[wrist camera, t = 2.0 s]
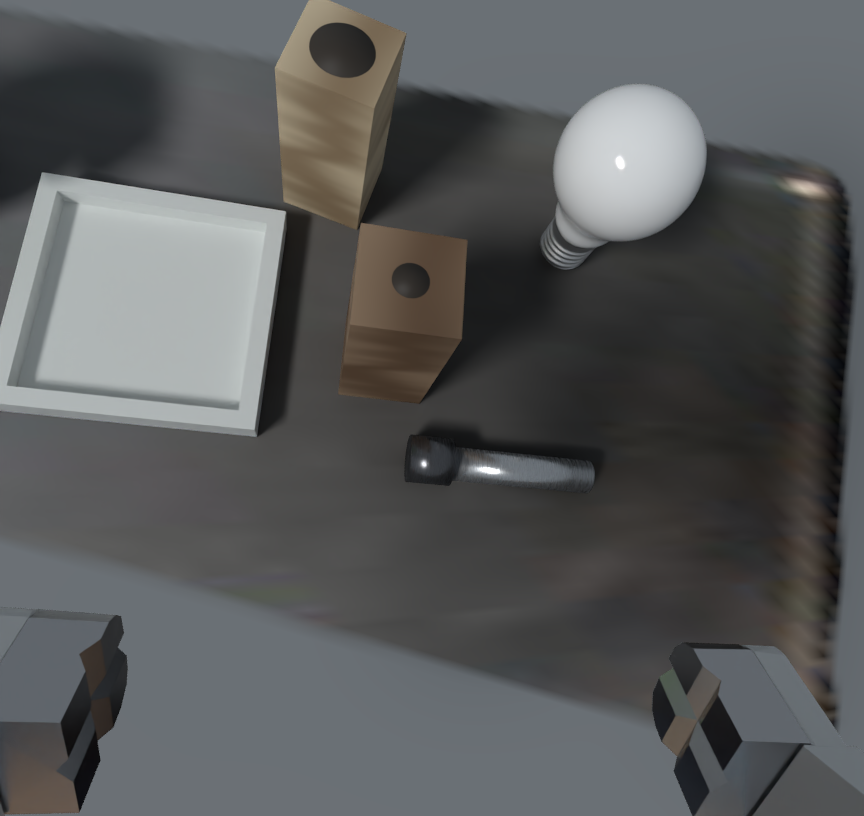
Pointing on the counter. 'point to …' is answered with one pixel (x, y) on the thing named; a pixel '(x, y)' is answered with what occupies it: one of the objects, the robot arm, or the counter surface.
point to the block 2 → (402, 312)
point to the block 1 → (335, 108)
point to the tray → (141, 308)
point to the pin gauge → (492, 467)
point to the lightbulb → (623, 171)
